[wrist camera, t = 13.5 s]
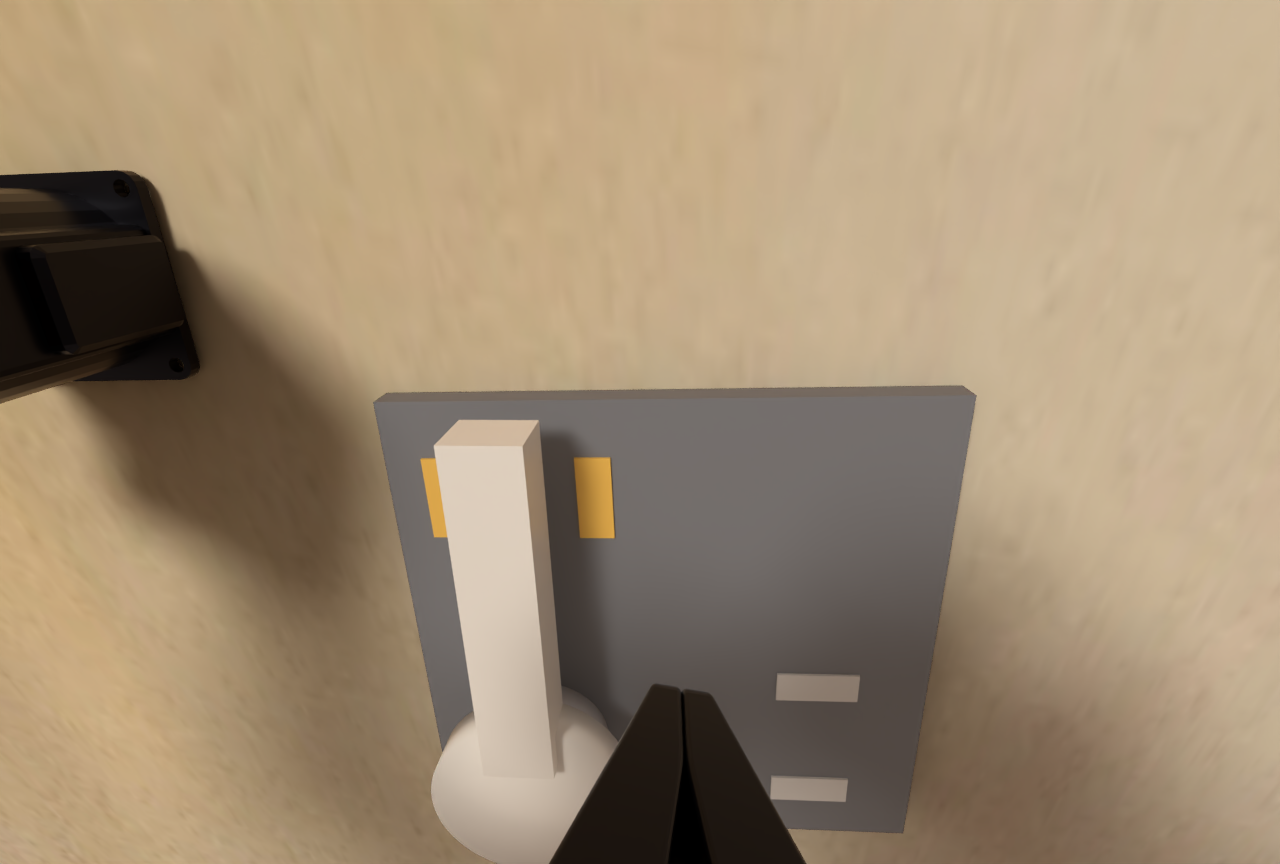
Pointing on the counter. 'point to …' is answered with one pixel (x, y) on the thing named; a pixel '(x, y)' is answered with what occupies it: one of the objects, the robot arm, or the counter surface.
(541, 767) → the lever switch
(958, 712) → the counter surface
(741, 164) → the counter surface
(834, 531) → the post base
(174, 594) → the counter surface
